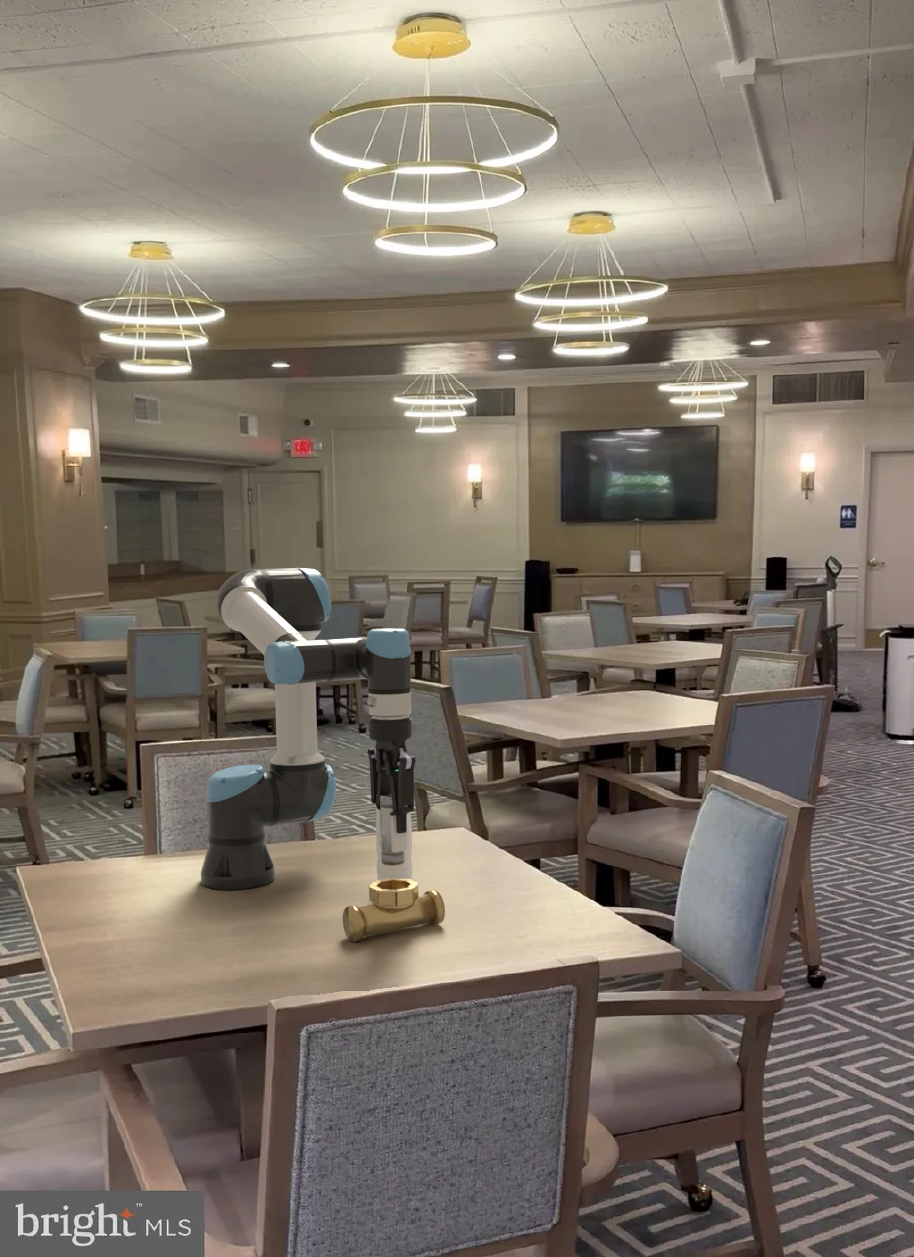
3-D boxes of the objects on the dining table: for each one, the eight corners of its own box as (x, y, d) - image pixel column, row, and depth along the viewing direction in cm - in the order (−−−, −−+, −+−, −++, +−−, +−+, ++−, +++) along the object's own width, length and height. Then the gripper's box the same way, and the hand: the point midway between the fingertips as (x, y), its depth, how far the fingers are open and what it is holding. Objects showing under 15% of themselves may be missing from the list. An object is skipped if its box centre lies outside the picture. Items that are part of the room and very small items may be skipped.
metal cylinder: (377, 861, 202) (375, 795, 201) (397, 858, 204) (396, 792, 203) (388, 866, 198) (386, 798, 197) (408, 863, 200) (407, 795, 200)
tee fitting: (361, 947, 194) (360, 898, 193) (340, 934, 201) (339, 887, 200) (448, 929, 203) (447, 882, 202) (425, 917, 210) (424, 871, 209)
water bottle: (408, 900, 220) (405, 773, 219) (373, 899, 222) (370, 772, 220) (416, 890, 227) (414, 766, 226) (382, 888, 229) (380, 765, 227)
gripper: (349, 713, 205) (352, 841, 206) (394, 723, 190) (397, 861, 192) (386, 710, 209) (388, 835, 210) (433, 719, 194) (435, 854, 196)
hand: (393, 847), depth 201 cm, fingers closed on metal cylinder, 4 cm apart
